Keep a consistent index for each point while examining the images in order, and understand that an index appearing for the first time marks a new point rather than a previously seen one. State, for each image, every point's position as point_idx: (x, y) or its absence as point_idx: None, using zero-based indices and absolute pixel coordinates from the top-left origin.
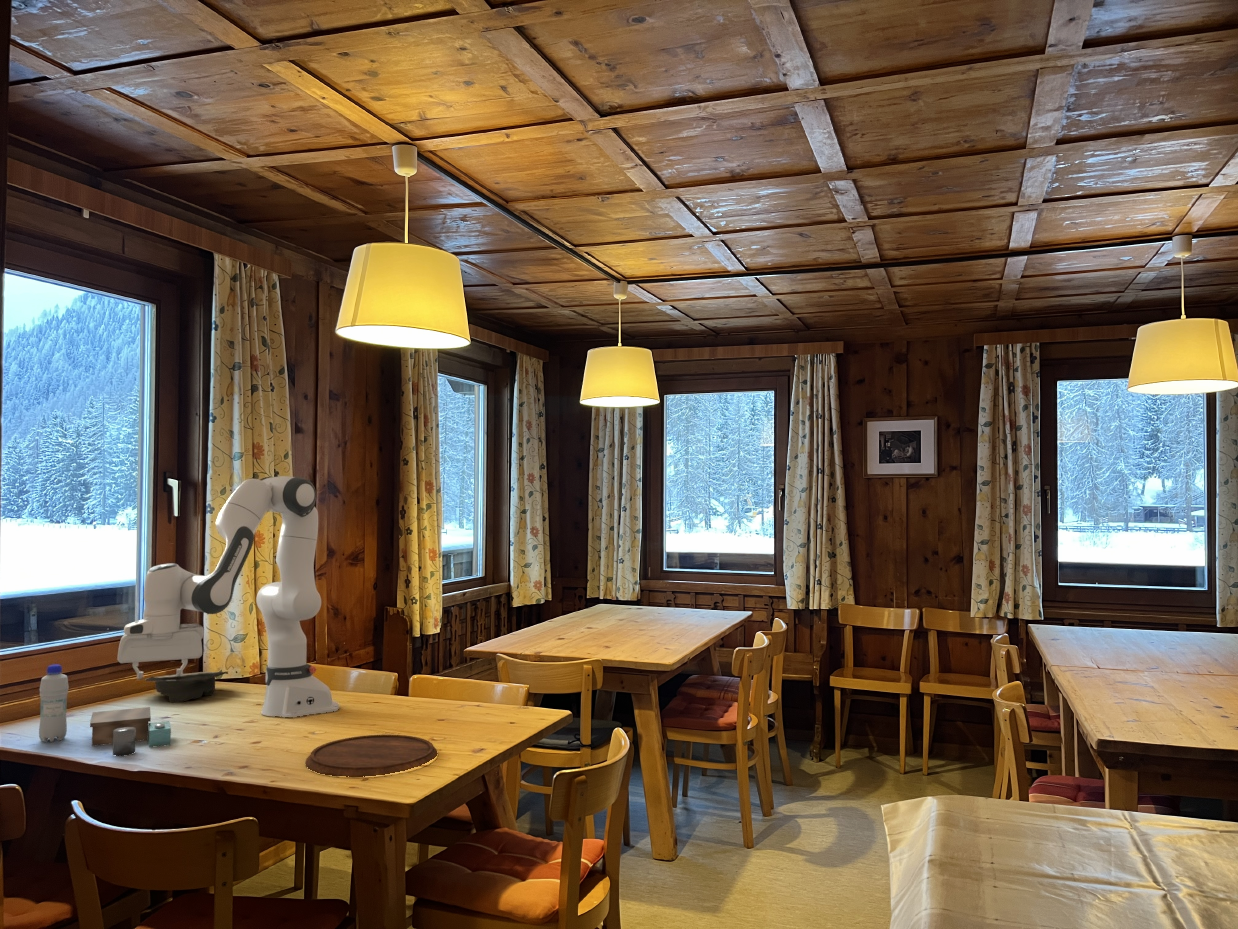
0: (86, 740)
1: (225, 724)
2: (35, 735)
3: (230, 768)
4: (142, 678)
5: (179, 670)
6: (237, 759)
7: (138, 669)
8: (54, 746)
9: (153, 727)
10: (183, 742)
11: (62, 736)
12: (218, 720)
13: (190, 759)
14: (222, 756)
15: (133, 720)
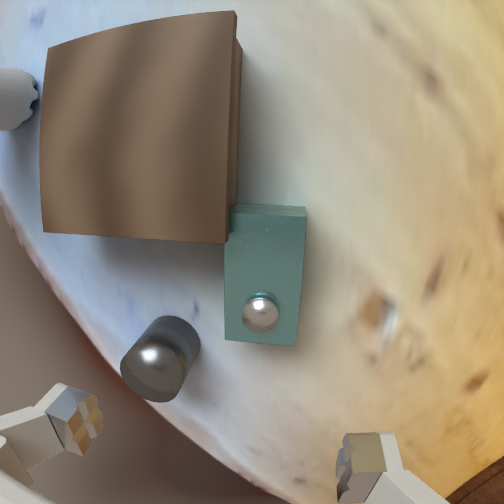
0: None
1: (485, 126)
2: (8, 45)
3: None
4: (99, 424)
5: (357, 500)
6: None
7: (32, 424)
8: (27, 170)
9: (239, 301)
10: (336, 305)
11: (29, 114)
12: (468, 55)
13: (314, 449)
14: None
15: (161, 238)
